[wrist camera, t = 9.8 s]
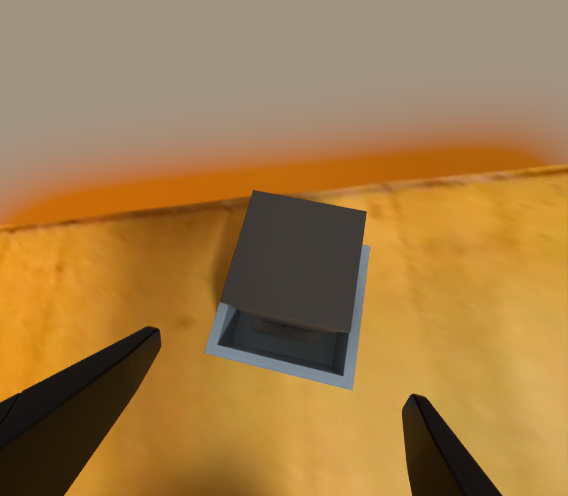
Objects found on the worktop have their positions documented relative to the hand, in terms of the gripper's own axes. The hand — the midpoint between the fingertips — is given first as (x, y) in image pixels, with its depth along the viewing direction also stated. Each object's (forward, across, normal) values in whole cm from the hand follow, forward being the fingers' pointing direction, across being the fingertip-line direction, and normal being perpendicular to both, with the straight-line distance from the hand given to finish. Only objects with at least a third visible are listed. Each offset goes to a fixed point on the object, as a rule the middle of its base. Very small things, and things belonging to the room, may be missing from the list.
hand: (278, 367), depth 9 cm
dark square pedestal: (+10, 0, +5) cm, 11 cm away
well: (+10, 0, +6) cm, 12 cm away
